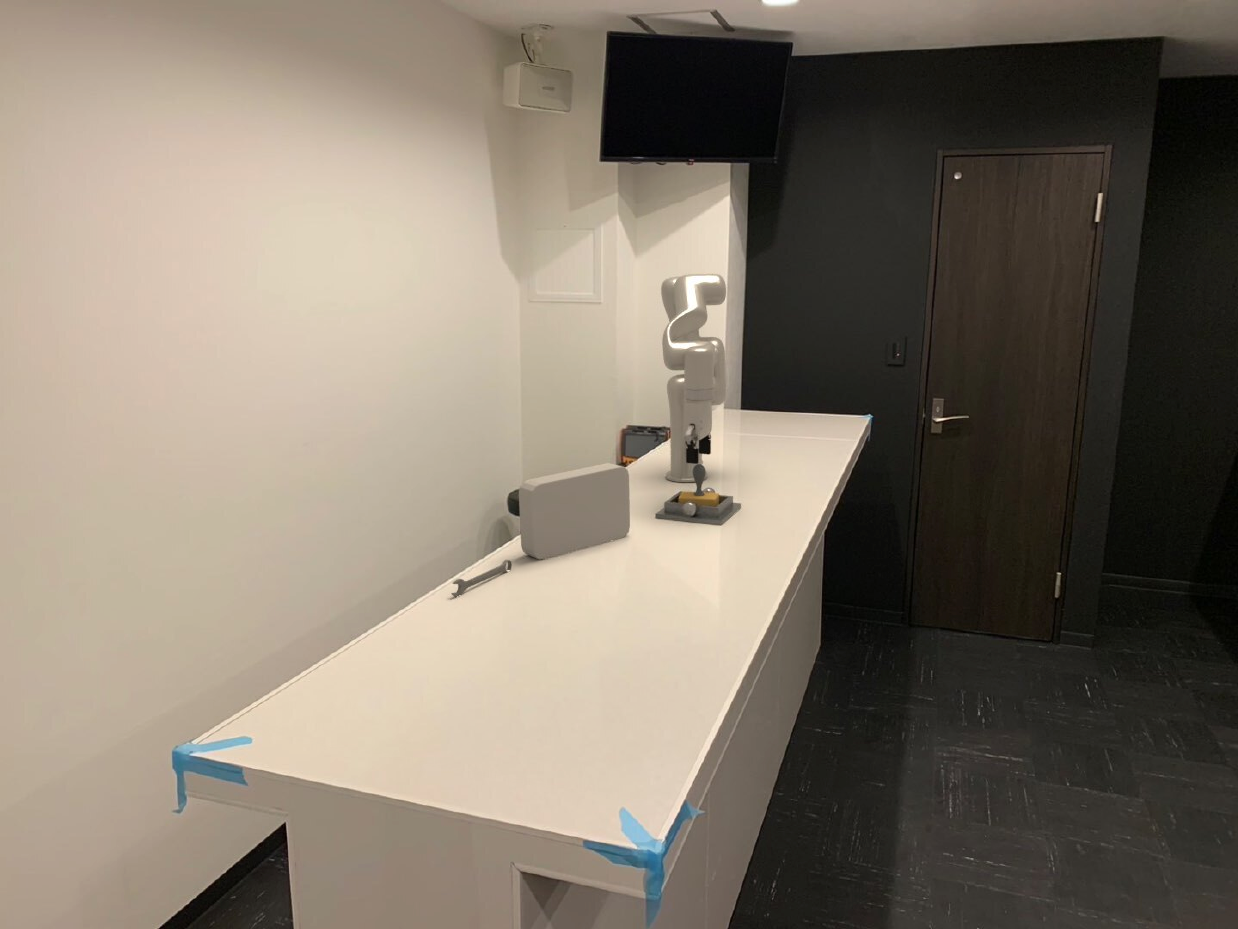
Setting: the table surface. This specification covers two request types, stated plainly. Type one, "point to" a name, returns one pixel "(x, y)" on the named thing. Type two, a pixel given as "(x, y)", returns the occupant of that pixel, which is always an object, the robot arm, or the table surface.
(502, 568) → the combination wrench
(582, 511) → the grey control panel
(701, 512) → the grey metal square tray
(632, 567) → the table surface
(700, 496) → the rubber stamp
